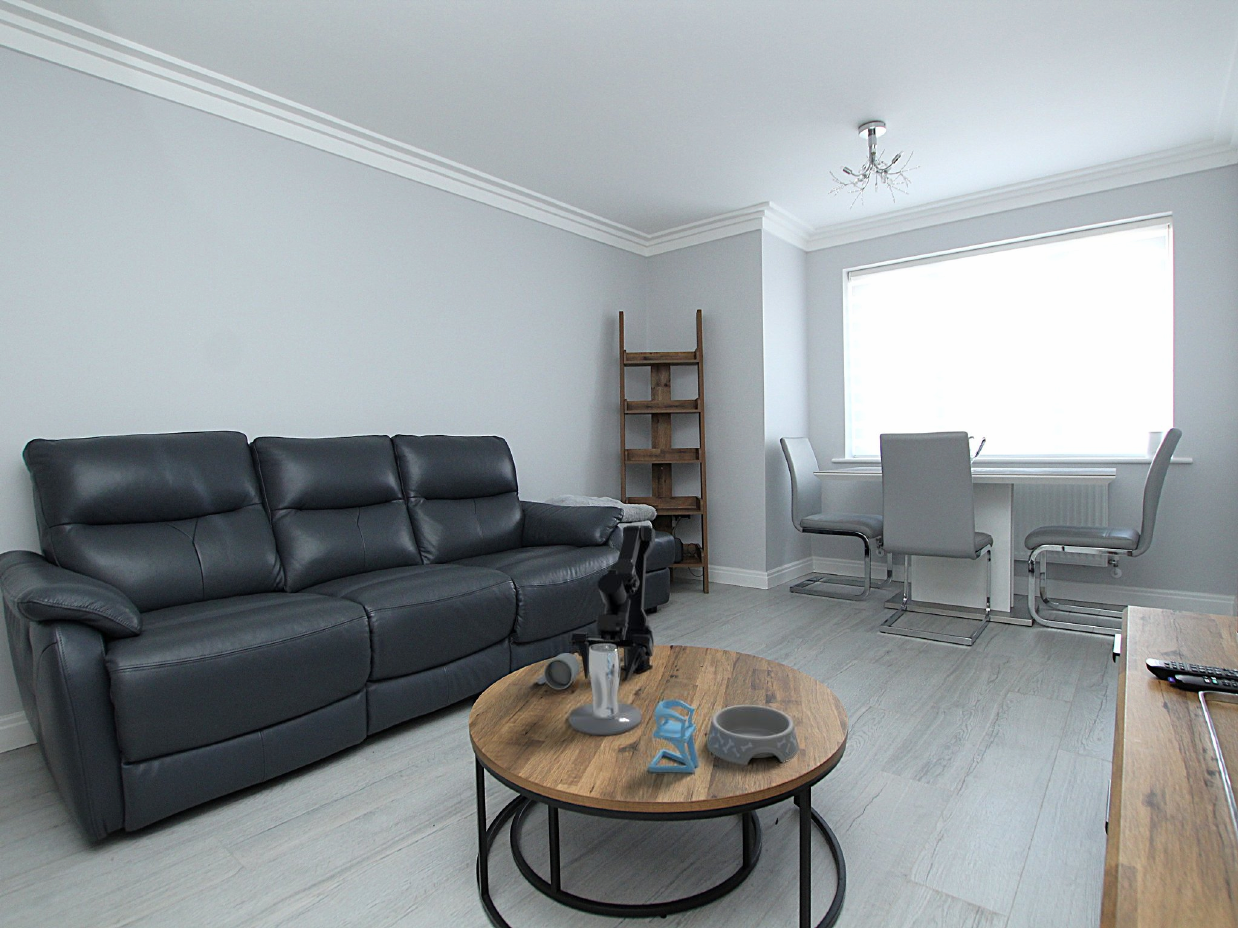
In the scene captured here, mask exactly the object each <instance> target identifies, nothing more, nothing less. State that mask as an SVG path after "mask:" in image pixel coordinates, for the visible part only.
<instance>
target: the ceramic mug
mask: <svg viewBox="0 0 1238 928" xmlns="http://www.w3.org/2000/svg"><path fill="white" fill-rule="evenodd" d="M580 669H581V666H580V661H579V659H578V658H577V657H576V656H575V655H574V654H572V653H569V652H568V653H567V652H566V653H565V652H564V653H559V654H558V655H557V656H555V657H554V658H553V659H551V660H549V661H548V662H547V664H546V665H545V667H544V670H543V673H542V674H540V675H539V676H538V677H536V681H537V684H538V685H542V684H545V683H546V684H547V685H548V686H549V687H551V688H552V689H555V690H558V691H560V690H564V689H567V688H568V687H569V686H570V685H571V684H572V683H573V681H575V679H576V678H577V677H578V676H579V673H580Z"/></svg>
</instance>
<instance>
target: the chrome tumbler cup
mask: <svg viewBox="0 0 1238 928" xmlns="http://www.w3.org/2000/svg"><path fill="white" fill-rule="evenodd" d="M620 658H621V657H620V648H619V646H618V645H615V644H611V643H600V644H595V645H592V646H590V647H589V675H588V677H589V681H590V685H591V686H590V687H591V691H592V699H593V701H592V703H593V709H592V716H593V717H594V718H596V719H600V720H609V719H614V718H616V717H618V716H619V708H618V703H617V702H618V692H619V683H620V677H621V669H620V666H621V659H620Z"/></svg>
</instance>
